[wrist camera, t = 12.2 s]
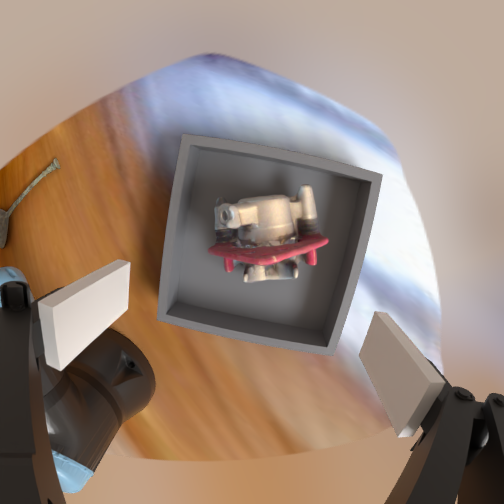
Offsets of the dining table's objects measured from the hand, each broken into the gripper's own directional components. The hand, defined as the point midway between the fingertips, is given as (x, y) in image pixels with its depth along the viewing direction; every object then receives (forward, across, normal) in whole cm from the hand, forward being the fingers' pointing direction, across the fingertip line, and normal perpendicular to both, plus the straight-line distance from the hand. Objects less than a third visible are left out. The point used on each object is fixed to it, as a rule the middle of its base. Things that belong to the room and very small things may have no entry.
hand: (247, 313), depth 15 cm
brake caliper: (+19, +1, +2) cm, 19 cm away
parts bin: (+20, +1, 0) cm, 20 cm away
